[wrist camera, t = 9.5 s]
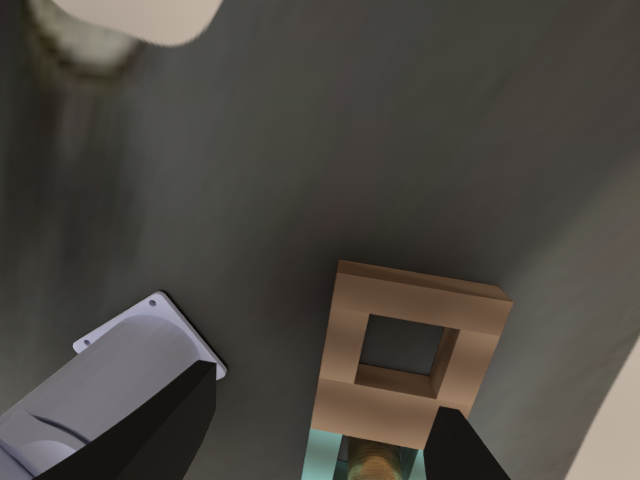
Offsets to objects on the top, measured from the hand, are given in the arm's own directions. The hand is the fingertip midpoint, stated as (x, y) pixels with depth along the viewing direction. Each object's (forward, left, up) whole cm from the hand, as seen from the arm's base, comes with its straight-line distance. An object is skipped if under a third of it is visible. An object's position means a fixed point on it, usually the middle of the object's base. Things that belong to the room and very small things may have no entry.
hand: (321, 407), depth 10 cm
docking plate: (-2, -10, -10) cm, 15 cm away
